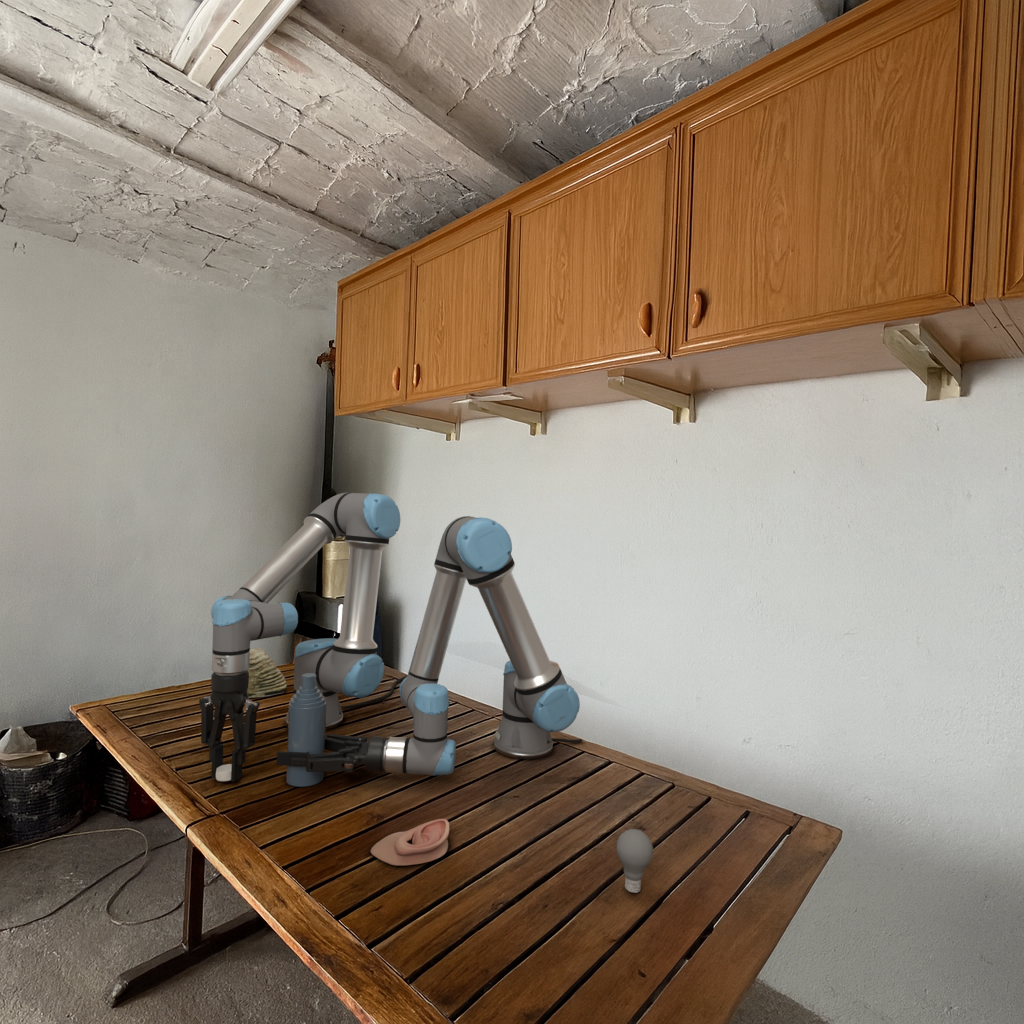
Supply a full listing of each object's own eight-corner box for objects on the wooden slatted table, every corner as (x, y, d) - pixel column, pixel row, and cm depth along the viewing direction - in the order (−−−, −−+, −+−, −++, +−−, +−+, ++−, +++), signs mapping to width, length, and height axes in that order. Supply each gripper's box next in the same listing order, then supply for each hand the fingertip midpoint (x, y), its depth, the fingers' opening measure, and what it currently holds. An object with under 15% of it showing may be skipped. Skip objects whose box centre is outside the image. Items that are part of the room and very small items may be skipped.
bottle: (286, 788, 137) (290, 680, 136) (286, 773, 144) (289, 670, 144) (324, 784, 139) (328, 678, 139) (322, 769, 147) (326, 669, 147)
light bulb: (610, 879, 108) (613, 822, 108) (644, 879, 109) (647, 822, 109) (619, 902, 102) (622, 840, 102) (655, 901, 103) (658, 840, 103)
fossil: (218, 695, 195) (220, 647, 195) (278, 685, 208) (279, 640, 207) (228, 703, 189) (230, 653, 188) (289, 692, 201) (290, 645, 201)
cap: (218, 783, 136) (219, 773, 136) (213, 776, 139) (213, 766, 139) (239, 778, 138) (240, 769, 138) (233, 771, 142) (234, 762, 142)
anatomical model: (363, 838, 111) (389, 807, 122) (362, 860, 111) (388, 827, 122) (436, 849, 108) (455, 817, 119) (435, 872, 108) (454, 838, 119)
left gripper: (183, 671, 136) (180, 779, 137) (255, 679, 133) (251, 790, 133) (207, 663, 144) (203, 765, 144) (275, 670, 140) (271, 775, 141)
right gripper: (375, 792, 131) (265, 788, 131) (394, 752, 152) (299, 748, 152) (376, 757, 131) (267, 752, 131) (395, 721, 152) (300, 717, 152)
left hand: (226, 777), depth 139 cm, fingers closed on cap, 4 cm apart
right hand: (284, 750), depth 142 cm, fingers closed on bottle, 8 cm apart
